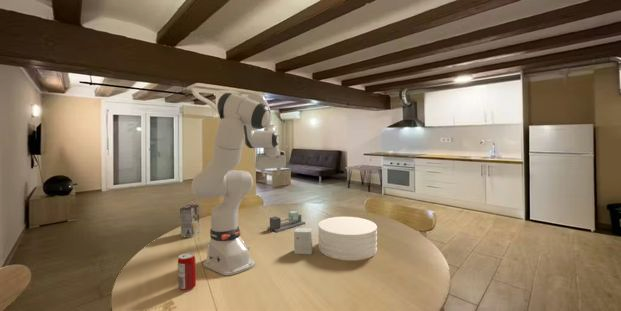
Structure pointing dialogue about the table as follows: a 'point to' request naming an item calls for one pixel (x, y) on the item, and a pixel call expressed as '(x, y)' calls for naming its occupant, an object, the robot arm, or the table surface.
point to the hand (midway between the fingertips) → (270, 175)
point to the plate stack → (348, 238)
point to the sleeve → (293, 216)
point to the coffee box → (189, 220)
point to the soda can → (186, 272)
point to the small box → (303, 241)
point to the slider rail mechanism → (278, 226)
